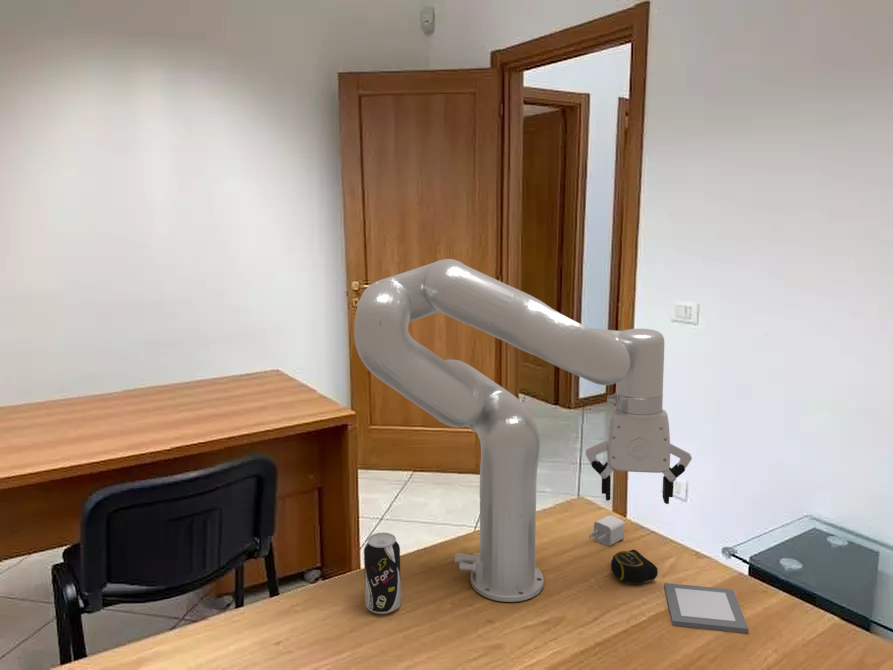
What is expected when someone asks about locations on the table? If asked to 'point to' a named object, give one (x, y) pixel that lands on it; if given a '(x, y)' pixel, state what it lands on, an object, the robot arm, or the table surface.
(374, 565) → the beverage can
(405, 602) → the table surface
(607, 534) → the usb wall charger
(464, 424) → the robot arm
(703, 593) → the coaster
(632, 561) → the tape measure
